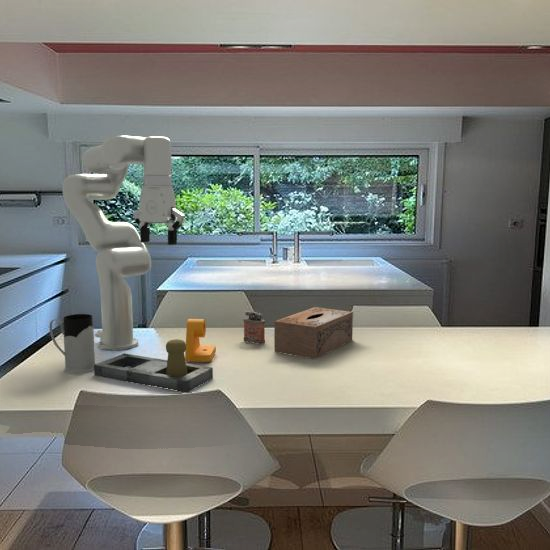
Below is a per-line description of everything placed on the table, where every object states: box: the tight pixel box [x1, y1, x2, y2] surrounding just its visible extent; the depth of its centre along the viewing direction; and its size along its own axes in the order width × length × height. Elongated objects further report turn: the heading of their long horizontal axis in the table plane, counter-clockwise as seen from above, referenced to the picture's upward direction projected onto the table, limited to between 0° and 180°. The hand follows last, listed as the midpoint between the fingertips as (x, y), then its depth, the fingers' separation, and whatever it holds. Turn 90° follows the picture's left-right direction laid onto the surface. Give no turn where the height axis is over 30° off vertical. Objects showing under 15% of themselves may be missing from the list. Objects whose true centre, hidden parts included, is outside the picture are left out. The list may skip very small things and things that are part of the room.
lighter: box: [242, 310, 266, 344], centre depth 182 cm, size 8×3×10 cm, turn 58°
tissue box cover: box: [273, 306, 354, 360], centre depth 177 cm, size 26×14×10 cm, turn 147°
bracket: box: [184, 318, 217, 363], centre depth 163 cm, size 11×7×12 cm, turn 177°
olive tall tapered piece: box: [165, 338, 187, 377], centre depth 142 cm, size 6×6×11 cm
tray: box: [93, 353, 214, 393], centre depth 146 cm, size 30×12×3 cm, turn 64°
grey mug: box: [49, 313, 96, 376], centre depth 153 cm, size 9×14×15 cm, turn 70°
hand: (158, 243), depth 156 cm, fingers open, 9 cm apart
